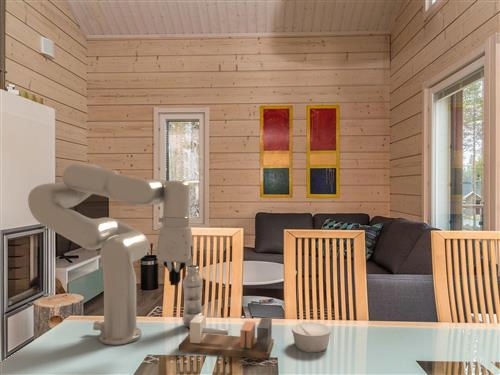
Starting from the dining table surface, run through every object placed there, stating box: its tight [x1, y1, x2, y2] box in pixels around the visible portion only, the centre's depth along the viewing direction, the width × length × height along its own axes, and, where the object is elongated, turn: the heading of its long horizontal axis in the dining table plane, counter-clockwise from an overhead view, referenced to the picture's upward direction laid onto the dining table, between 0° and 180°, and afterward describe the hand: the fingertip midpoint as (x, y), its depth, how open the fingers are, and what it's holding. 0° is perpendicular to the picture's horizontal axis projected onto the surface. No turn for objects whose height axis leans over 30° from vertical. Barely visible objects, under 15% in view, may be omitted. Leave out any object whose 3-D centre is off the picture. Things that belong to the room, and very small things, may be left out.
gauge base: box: [178, 317, 275, 360], centre depth 121 cm, size 26×10×8 cm, turn 80°
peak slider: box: [239, 320, 256, 350], centre depth 119 cm, size 3×8×5 cm, turn 170°
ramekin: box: [291, 321, 332, 353], centre depth 122 cm, size 11×11×5 cm
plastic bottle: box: [182, 264, 204, 328], centre depth 137 cm, size 6×7×20 cm
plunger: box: [189, 315, 230, 343], centre depth 122 cm, size 10×6×6 cm, turn 80°
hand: (174, 284), depth 123 cm, fingers closed
